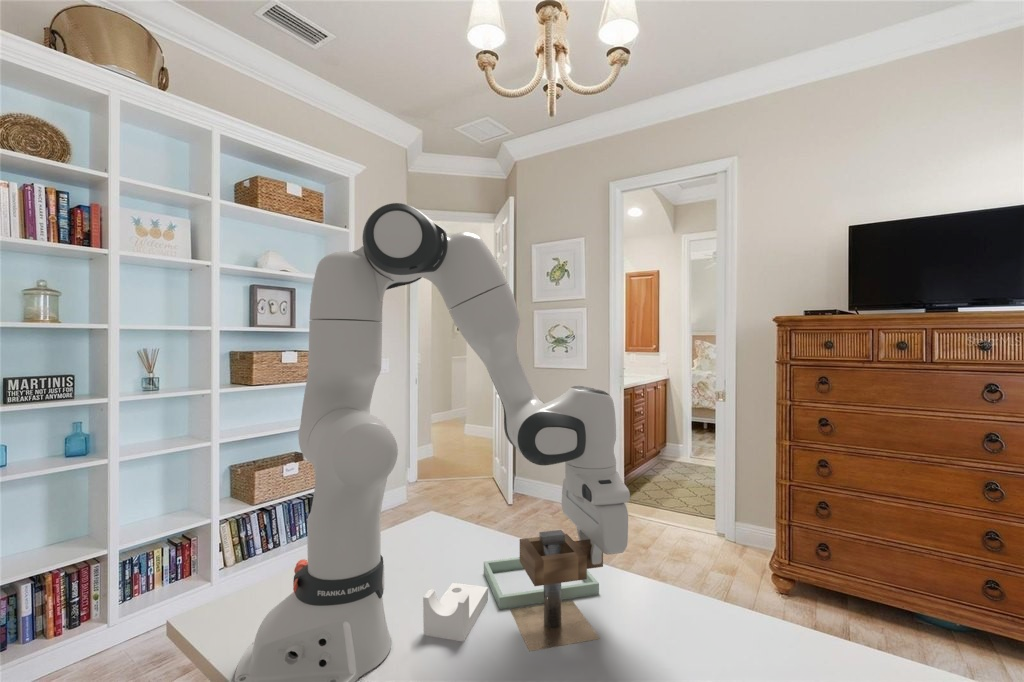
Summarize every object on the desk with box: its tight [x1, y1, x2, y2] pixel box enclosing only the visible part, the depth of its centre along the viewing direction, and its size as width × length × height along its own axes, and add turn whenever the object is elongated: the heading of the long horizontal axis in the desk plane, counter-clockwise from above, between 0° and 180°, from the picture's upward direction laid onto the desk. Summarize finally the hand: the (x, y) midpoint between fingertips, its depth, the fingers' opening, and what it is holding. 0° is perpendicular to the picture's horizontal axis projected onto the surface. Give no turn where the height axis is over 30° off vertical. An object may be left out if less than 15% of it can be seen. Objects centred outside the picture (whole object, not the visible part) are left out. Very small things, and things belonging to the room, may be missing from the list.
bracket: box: [422, 582, 489, 642], centre depth 85 cm, size 13×7×8 cm, turn 165°
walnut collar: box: [519, 533, 604, 587], centre depth 83 cm, size 14×9×4 cm, turn 105°
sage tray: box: [483, 556, 600, 610], centre depth 97 cm, size 20×15×3 cm
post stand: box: [509, 529, 600, 652], centre depth 83 cm, size 12×12×16 cm
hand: (590, 557), depth 84 cm, fingers closed on walnut collar, 2 cm apart
